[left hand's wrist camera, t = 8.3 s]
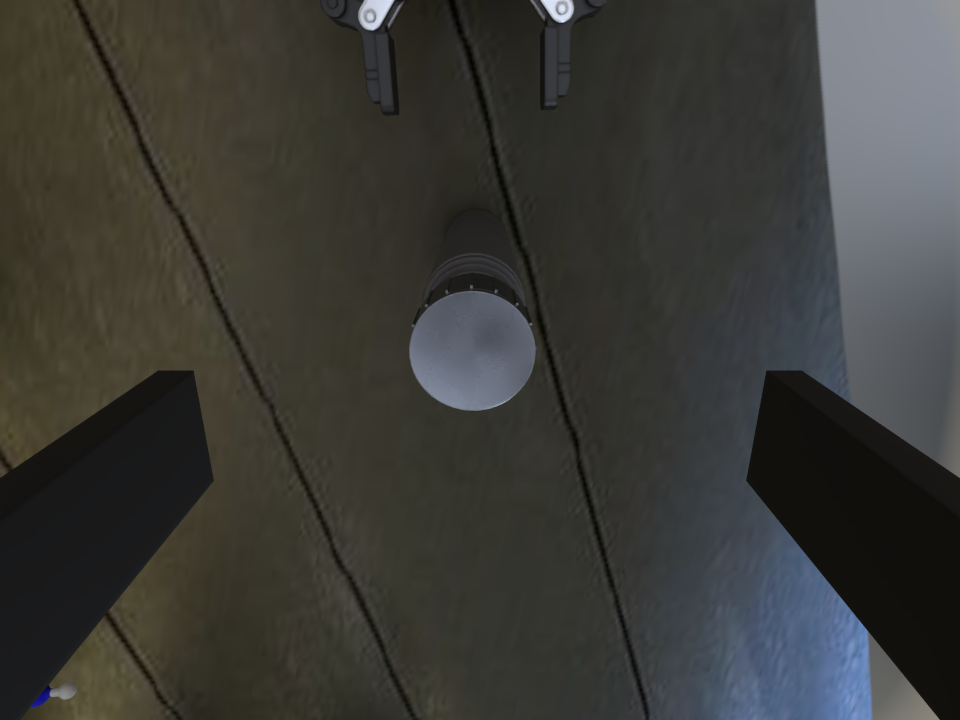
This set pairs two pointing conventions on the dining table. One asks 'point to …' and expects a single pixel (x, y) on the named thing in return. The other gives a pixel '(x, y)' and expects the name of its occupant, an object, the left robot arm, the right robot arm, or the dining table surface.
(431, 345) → the cap
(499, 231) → the dark grey cylinder
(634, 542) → the dining table surface
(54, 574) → the left robot arm
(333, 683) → the dining table surface
